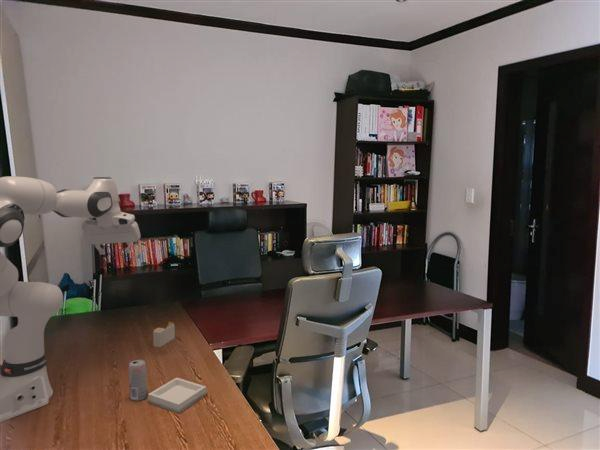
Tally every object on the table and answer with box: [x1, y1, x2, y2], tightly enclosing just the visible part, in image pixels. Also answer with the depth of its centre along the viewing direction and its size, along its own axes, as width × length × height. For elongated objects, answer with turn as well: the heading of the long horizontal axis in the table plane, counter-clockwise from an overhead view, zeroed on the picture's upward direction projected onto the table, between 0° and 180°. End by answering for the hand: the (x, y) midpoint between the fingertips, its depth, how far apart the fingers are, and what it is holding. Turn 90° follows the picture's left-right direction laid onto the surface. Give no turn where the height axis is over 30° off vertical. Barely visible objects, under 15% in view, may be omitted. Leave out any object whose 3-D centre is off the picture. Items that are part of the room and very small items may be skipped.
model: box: [152, 321, 176, 348], centre depth 197 cm, size 3×11×8 cm, turn 161°
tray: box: [147, 377, 207, 414], centre depth 151 cm, size 13×13×3 cm
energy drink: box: [128, 359, 148, 402], centre depth 151 cm, size 5×5×12 cm
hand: (115, 253), depth 177 cm, fingers open, 8 cm apart
